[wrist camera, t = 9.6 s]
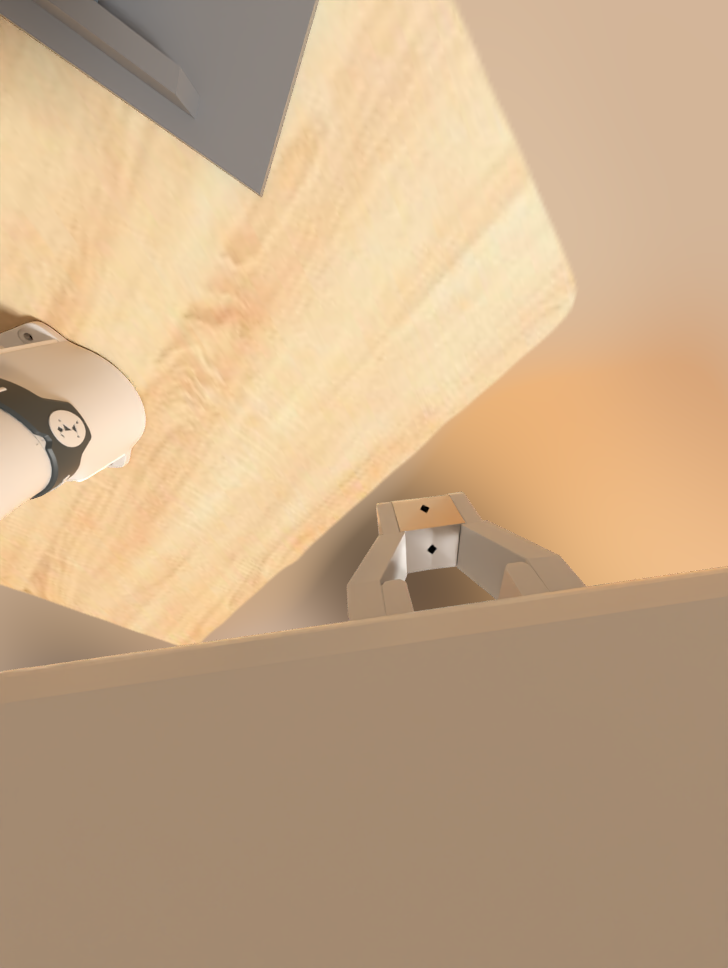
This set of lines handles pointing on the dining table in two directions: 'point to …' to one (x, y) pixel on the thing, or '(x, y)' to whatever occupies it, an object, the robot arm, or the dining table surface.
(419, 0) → the dining table surface
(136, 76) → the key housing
